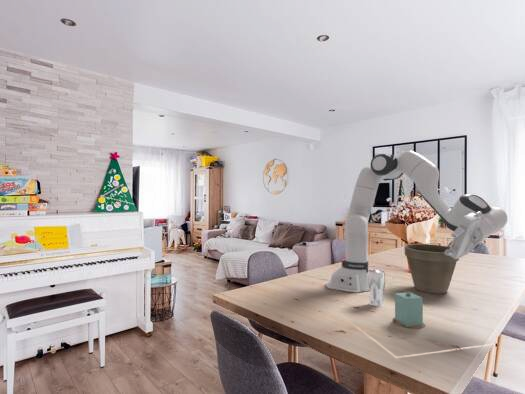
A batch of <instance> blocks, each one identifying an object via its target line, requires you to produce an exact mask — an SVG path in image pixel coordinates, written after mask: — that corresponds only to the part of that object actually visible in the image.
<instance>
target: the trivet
mask: <svg viewBox="0 0 525 394" xmlns="http://www.w3.org/2000/svg"><path fill="white" fill-rule="evenodd" d="M392 322H393V324H395V325H396V326H399V327H401V328H406V329H409V330H410V329H412V330H420V329H423V328H425V327H426V324H425V322H423V325H419V326H410V327H406V326H405V325H403V324H401V323H400V322H398V321H396V320H395V317H393V318H392Z"/></svg>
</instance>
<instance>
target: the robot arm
mask: <svg viewBox="0 0 525 394" xmlns="http://www.w3.org/2000/svg"><path fill="white" fill-rule="evenodd" d="M403 175H405V176H407V177H408V178H409V179H410V180H411V181H412V182H413V183H414V184H415V186H416V187H417V188H418V191H419V194H420V195H421V197H422V198H423V200H424V201H425V202H426V203H427V204H428V205H429V206H430V207H431V209H432V210H433V211H434V212H435V213H436V214H437V216H439V217H440V219H441V220H442V222H443V224H444V225H445V227H446V228H447V229H449V230H450V231H452V232H451V234H450V235H451V236H450V237H452V238H453V240H452V241H451V244H450V246H449V247H450V249H447V250H445V252H444V254H446V255H447V256H451V257H452V258H454V259H459V260H460V259H461V258H462V257H465V256H466V255H467V254H469V253H470V252H471V253H473V252H475V251H476V250H477V249H478V247H479V246H480V245H481V243H482V242H483V241H485V239H487V238H489V237H490V236H491V235H493V234H495V233H498V232H499V231H500V230H501V229H503V228H504V227H505V226H506V224H507V223H508V214H507V212H506V211H505V210H504V209H502V208H501V207H497V206H492V205H490V204H488V203H487V202H486V200H485V199H483V198H482V197H480V196H479V195H476V194H471V193H467V194H462V195H461V196H460V197H459V198H458V199H457V200H456V202H455V203H454V204H453V206H452V207H450V206H449V204H448V203H447V202H446V201H445V200H444V199H443V197H441V196H440V194H439V181H440V171H439V168H438V167H437V166H436V164H434V163H433V162H431V161H430V160H428V159H427V158H426V157H424V156H423V155H422V154H420V153H417V152H415V151H413V150H406V151H404V152H402V153H401V154H400V155H399V156H396V155H395V154H389V153H378V154H376V155H374V157H372V159H371V160H370V166H364V167H363V168H362V169H361V170H360V173H359V174H358V177H357V179H356V182H355V185H354V189H353V193H352V198H351V201H350V204H349V208H348V212H347V216H346V219H345V222H344V232H345V233H344V237H345V238H344V239H345V244H344V245H345V258H343V259H341V266H340V267H339V268H338V269H337V270H335V271H333V273H332V274H331V278H330V280H329V281H326V288H327V289H331V290H336V291H344V292H349V293H361V292H368V291H370V290H369V284H368V274H369V270H370V266H369V261H368V260H369V259H368V257H369V256H368V252H369V251H368V249H369V248H368V246H369V244H368V241H369V239H368V237H369V235H368V234H369V233H368V232H369V231H368V229H369V226H368V225H369V224H368V223H369V220H370V217H371V216H370V215H371V212H372V209H373V207H374V203H375V199H376V196H377V192H378V189H379V184H380V183H381V181H382V180H383V181H394V180H398V179H400V178H401V177H402V176H403Z"/></svg>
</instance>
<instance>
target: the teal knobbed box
mask: <svg viewBox="0 0 525 394" xmlns="http://www.w3.org/2000/svg"><path fill="white" fill-rule="evenodd" d="M423 302H424V301H423V297H422V296H420V295H418V294H415V293H413V292H412V291H406V292H395V293H394V318H395V320H396V321H398V322H400V323H401V324H403V325H405V326H406V327H410V326H419V325H423V323H424V320H423V319H424V317H423V315H424V314H423V310H424V309H423V308H424V307H423Z"/></svg>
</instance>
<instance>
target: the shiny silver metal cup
mask: <svg viewBox="0 0 525 394" xmlns="http://www.w3.org/2000/svg"><path fill="white" fill-rule="evenodd" d="M368 284H369V290H368V291H369V295H370V297H369V304H368V305H369V306H374V307H384V306H385V303H384V292H385V287H386V275H385V270H382V269H378V268H377V269H376V268H375V269H374V268H372V269H369V271H368Z"/></svg>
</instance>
